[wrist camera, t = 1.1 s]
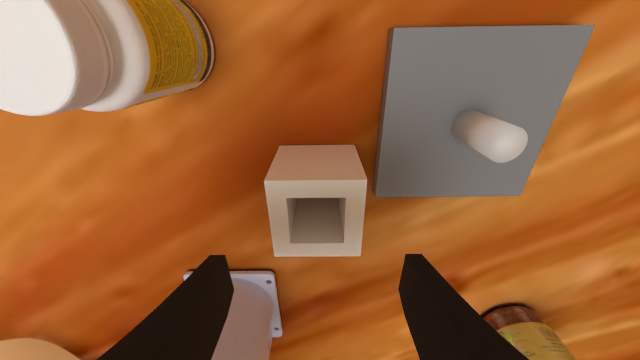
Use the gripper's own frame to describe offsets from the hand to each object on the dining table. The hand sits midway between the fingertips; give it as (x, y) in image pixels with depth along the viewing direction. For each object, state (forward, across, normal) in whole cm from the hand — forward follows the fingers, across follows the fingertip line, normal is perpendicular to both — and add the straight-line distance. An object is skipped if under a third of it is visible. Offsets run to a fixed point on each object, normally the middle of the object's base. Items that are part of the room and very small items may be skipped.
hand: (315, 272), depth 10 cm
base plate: (+8, -9, -4) cm, 13 cm away
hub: (+8, 0, 0) cm, 8 cm away
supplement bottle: (+9, +8, -8) cm, 14 cm away
